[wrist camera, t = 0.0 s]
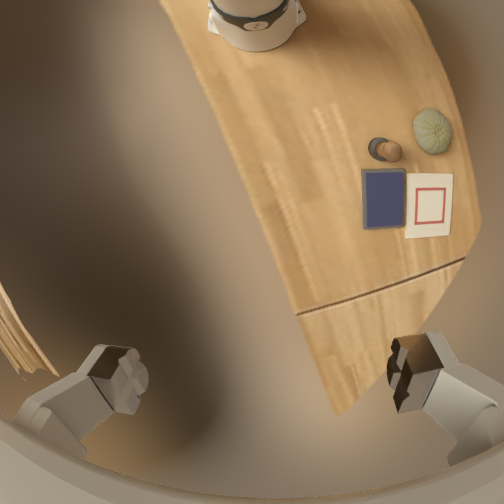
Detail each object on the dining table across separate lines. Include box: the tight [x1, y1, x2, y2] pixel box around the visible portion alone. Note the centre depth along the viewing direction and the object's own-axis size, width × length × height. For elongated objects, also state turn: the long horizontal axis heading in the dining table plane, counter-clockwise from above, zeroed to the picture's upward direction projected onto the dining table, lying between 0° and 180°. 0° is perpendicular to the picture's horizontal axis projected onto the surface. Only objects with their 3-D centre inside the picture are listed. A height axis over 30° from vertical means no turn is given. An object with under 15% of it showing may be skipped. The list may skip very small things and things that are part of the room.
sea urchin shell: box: [413, 108, 452, 154], centre depth 43 cm, size 9×8×8 cm
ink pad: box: [361, 168, 404, 230], centre depth 51 cm, size 12×9×2 cm
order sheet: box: [405, 173, 453, 239], centre depth 51 cm, size 14×12×1 cm
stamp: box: [368, 138, 402, 162], centre depth 44 cm, size 4×4×9 cm
